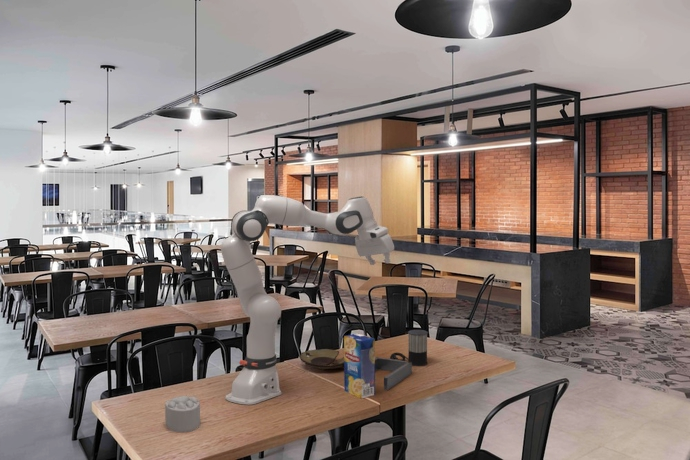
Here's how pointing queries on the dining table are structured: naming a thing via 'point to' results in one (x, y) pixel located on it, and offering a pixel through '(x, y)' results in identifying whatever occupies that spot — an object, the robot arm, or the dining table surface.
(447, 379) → the dining table surface
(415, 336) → the milk frother
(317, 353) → the olive brown plate
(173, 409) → the lumpy-topped squat cylinder
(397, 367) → the angle bracket
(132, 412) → the dining table surface
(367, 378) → the beverage box
